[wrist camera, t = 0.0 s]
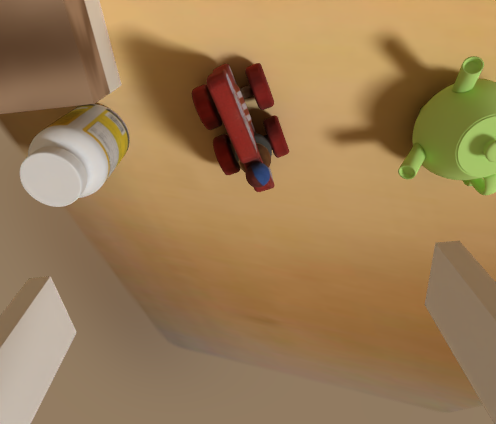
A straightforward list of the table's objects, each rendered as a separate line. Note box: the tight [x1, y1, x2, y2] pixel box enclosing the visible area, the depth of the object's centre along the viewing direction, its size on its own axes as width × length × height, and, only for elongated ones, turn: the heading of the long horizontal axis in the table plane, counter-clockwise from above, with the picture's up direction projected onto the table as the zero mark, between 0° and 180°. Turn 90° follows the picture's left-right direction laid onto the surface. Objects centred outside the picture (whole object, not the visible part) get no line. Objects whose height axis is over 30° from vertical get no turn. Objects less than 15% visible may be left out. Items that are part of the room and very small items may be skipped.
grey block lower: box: [84, 0, 121, 94], centre depth 33 cm, size 9×9×4 cm
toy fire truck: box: [192, 63, 289, 192], centre depth 34 cm, size 7×12×10 cm, turn 20°
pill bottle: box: [20, 104, 129, 207], centre depth 34 cm, size 6×6×12 cm
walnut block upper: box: [0, 0, 110, 114], centre depth 30 cm, size 9×9×4 cm
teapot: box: [398, 56, 496, 195], centre depth 35 cm, size 11×12×8 cm
